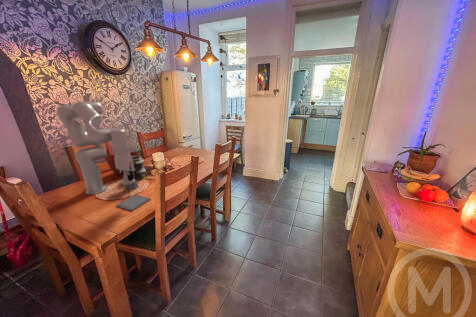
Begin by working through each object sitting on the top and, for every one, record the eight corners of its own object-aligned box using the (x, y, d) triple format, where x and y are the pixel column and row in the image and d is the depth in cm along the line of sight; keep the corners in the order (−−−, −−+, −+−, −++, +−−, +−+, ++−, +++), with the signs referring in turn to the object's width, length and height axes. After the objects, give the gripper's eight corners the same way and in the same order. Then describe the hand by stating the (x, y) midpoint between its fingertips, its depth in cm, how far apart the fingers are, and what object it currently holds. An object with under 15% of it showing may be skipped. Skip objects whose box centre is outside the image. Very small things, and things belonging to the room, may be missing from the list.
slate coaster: (116, 206, 112) (115, 205, 112) (135, 195, 125) (135, 194, 124) (132, 211, 107) (132, 210, 107) (150, 199, 120) (150, 198, 119)
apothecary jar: (145, 179, 149) (141, 159, 143) (128, 181, 146) (124, 160, 140) (148, 173, 160) (144, 154, 154) (133, 175, 157) (129, 155, 151)
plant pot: (108, 175, 157) (103, 156, 152) (128, 167, 174) (125, 151, 168) (123, 178, 150) (119, 159, 145) (142, 170, 167) (139, 153, 161)
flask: (125, 180, 114) (122, 165, 111) (137, 179, 115) (134, 165, 111) (119, 185, 107) (115, 170, 104) (131, 185, 108) (128, 169, 105)
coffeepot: (120, 188, 134) (114, 166, 128) (131, 183, 142) (127, 162, 136) (133, 193, 127) (128, 170, 122) (145, 187, 135) (141, 165, 130)
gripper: (105, 150, 104) (112, 179, 110) (126, 154, 98) (132, 184, 104) (117, 147, 111) (123, 174, 116) (138, 150, 105) (143, 179, 111)
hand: (127, 178), depth 110 cm, fingers closed on flask, 5 cm apart
